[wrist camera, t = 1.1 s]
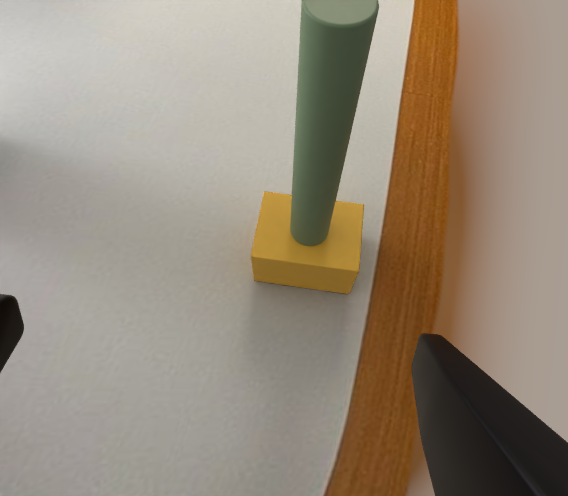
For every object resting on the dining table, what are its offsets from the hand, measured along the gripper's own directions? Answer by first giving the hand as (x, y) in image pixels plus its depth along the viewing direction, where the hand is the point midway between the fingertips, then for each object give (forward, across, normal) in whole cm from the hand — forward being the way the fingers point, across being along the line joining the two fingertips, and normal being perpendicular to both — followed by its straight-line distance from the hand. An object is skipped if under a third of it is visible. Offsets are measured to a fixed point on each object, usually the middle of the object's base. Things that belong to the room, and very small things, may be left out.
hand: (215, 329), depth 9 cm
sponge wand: (+17, -2, +7) cm, 18 cm away
